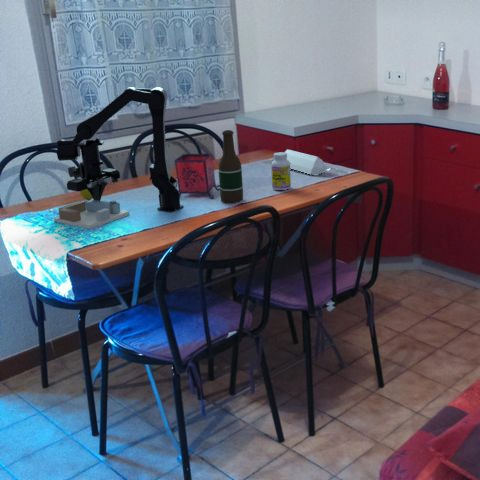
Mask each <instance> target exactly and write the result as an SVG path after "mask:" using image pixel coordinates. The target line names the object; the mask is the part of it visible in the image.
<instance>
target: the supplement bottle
mask: <svg viewBox="0 0 480 480" xmlns="http://www.w3.org/2000/svg"><path fill="white" fill-rule="evenodd" d="M284 152H285V151H284ZM284 152H283V151H281V152H280V151H279V152H274V153H273V160H272V162H271V165H270V166H271V186H272V187H271V188H272V190H273V189H274V191H276V190H285V191H288V190H287V189H289V190H290V189H291V188H292V187H291V185H292V183H291V169H290V162H289V161H288V160H287V153H284Z"/></svg>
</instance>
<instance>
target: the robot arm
mask: <svg viewBox="0 0 480 480" xmlns="http://www.w3.org/2000/svg"><path fill="white" fill-rule="evenodd" d="M131 102H135V103H141V104H144V105H145V104H147V105H148V109H149V112H150V116H151V121H152V138H153V139H152V141H153V154H154V155H153V156H154V157H153V158H154V163H151V164H150V166H149V167H148V170H149V174H150V175H149V176H150V177H149V181H151V183H152V186H154V187H155V188H157V190H158V202H159V206H158V207H157V209H156V210H159V211H164V212H170V213H171V212H175V211H177V210H179V209H182V208H184V205H182V204H181V200H180V199H181V198H180V191H179V190H178V189H177V187H178V185H179V184H178V183H179V181H178V180H177V179H176V178H175V177H173V176H172V173H171V169H170V165H169V162H168V159H167V142H166V127H165V126H166V123H165V114H166V109H167V102H168V92H167V91H166V90H165V89H163V88H162V87H159V86H158V87H154V88H141V87H139V88H138V87H133V86H130V87H127V88H126V89H124V91H123V92H122V93H121V94H120V95H118V96H117V97H116V98H115V99H113V101H111V102H110V103H108V105H106V106H105V107H104V108H103V109H101V110H100V111H99V112H97V113H95V114H93V115H92V116H90V117H88V118H86V119H84V120H82V122H79V123H78V125H77V126H76V134H75V136H74V137H73V139H58V140H57V142H56V144H57V146H56V157H57V160H58V161H60V162H61V161H63V162H64V161H77V160H78V158H79V157H81V160H82V161H81V162H79V167H76V166H70V167H68V168H67V173H68V176H69V177H70V178H74V179H69V180H68V181H67V182H66V189H67V190H68V191H72V192H80V191H82V190H85V189H87V190H88V191H89V192H90V194H91V196H92V200H95V201H101V199H102V197H103V193H104V191H105V189H106V186H107V185H108V184H109V183H108V181H107V182H106V179H109V178H111V179H112V180H118V179H121V172H120V171H119V170H118V169H115V168H109V167H108V168H105V169H102V165H104V161H103V160H101V158H100V155H101V154H100V149H99V147H100V146H103V145H104V143H105V141H104V140H102V139H101V138H100V136H97V137H96V139H92V138H93V137H95V135H97V133H98V132H99V131H100V129H101V128H102V127H103V126H104V125H105V123H106V122H107V121H108V120H110V119H111V118H112V117H114V116H115V115H116V114H117V113H118V112H120V111H121V110H122V109H123V108H124V107H126V106H127V105H128V104H129V103H131ZM84 140H85V141H86V142H82V141H84ZM80 178H81V179H80Z"/></svg>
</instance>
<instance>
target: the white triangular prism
mask: <svg viewBox="0 0 480 480" xmlns="http://www.w3.org/2000/svg"><path fill="white" fill-rule="evenodd" d="M284 153H287V160H288V161H289V162H290V163H291V164H290V168H291V169H294V170H298V171H301V172H304V173H303V174H305V173H307V174H306V175H308V174H310V175H309V176H312V175H311V174H321V173H323V172H324V171H325V172H326V164H325V163H324V161H323V159H321V158H320V157H319V156H316V155H312V154H307V153H305V152H304V153H303V152H299V151H295V150H292V149H288V148H287V149H286V150H285V151H284ZM291 169H290V170H291ZM294 170H293V171H294ZM298 171H297V172H298ZM301 172H300V173H301Z"/></svg>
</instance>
